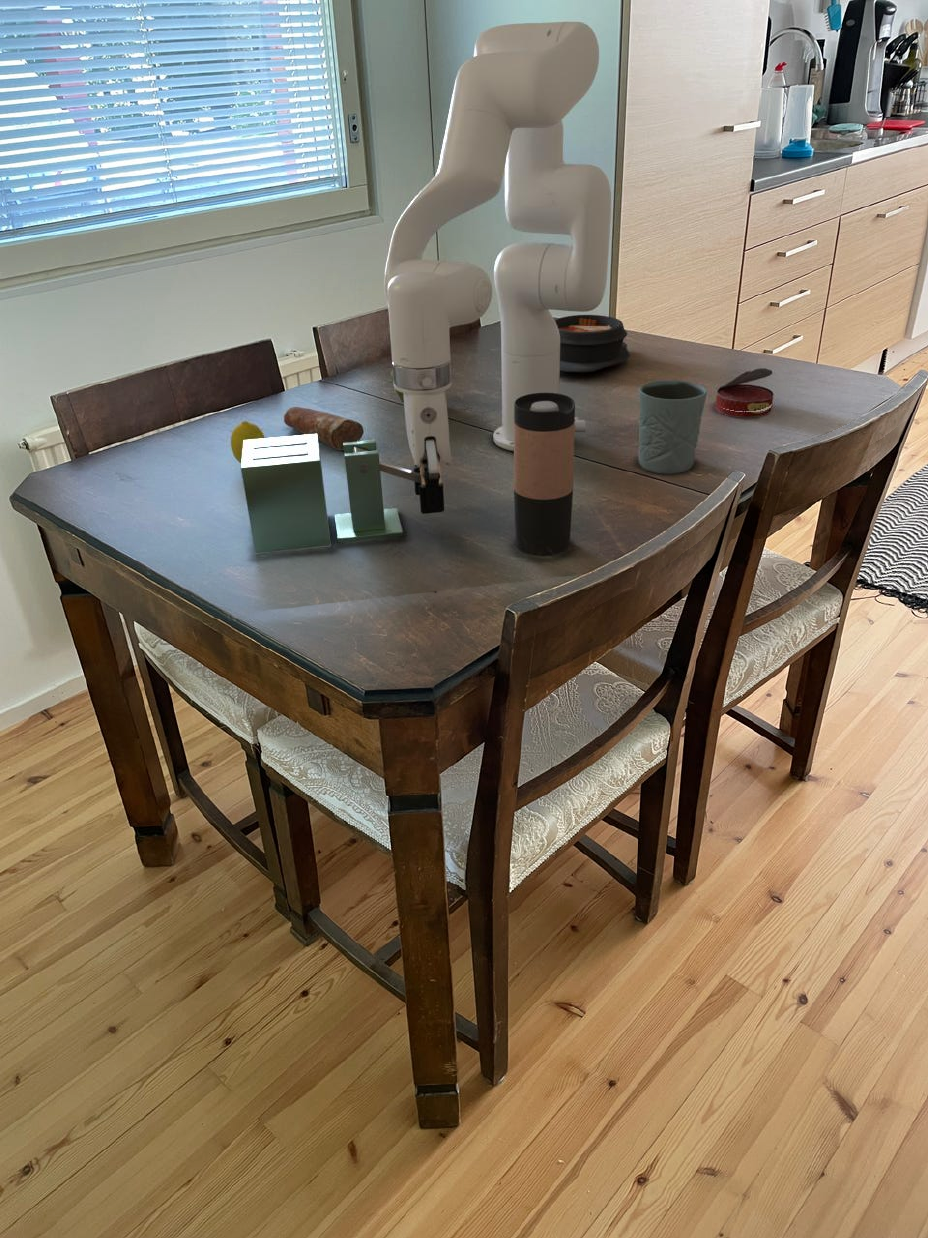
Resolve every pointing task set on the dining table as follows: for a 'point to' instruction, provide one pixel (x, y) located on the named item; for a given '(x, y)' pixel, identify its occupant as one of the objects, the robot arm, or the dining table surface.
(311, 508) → the toaster
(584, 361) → the casserole
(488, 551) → the dining table surface
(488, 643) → the dining table surface
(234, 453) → the lemon
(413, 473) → the lever
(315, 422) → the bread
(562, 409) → the travel mug
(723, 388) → the canned food
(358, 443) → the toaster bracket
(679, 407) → the green embossed cup
